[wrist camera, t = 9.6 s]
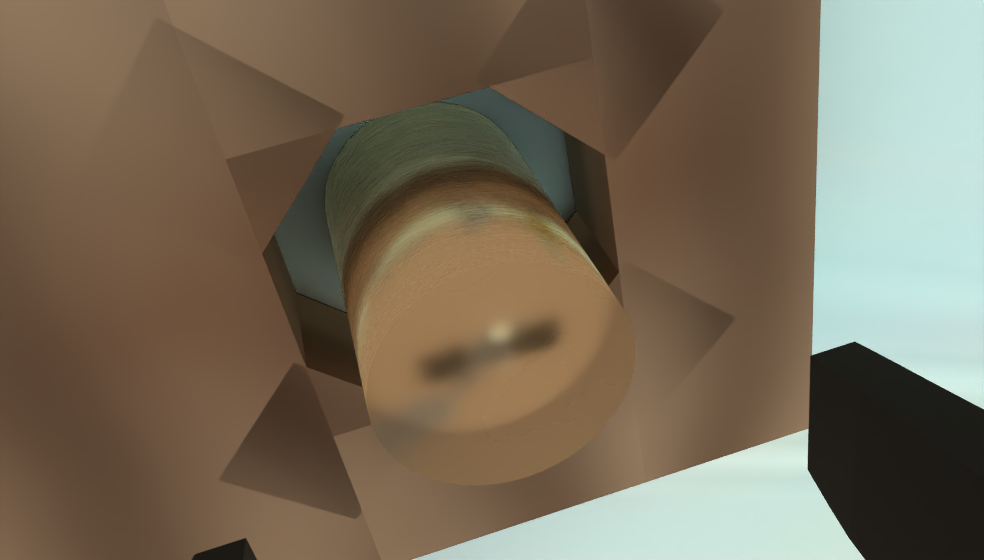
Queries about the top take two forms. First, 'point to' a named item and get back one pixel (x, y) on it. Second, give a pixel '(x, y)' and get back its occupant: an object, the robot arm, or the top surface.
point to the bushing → (470, 301)
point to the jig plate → (326, 331)
